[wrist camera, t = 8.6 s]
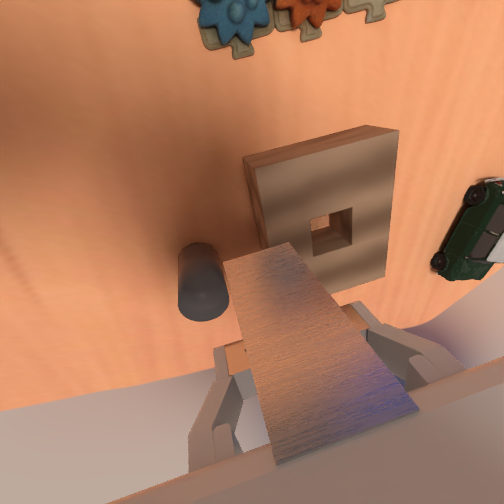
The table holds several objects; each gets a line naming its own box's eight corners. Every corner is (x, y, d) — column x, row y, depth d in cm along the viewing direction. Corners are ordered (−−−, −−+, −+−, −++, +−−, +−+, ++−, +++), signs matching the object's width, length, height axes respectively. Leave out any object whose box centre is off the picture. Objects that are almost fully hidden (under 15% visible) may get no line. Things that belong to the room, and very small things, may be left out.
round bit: (172, 249, 35) (170, 291, 28) (212, 237, 36) (222, 275, 28) (185, 281, 38) (187, 327, 31) (223, 270, 39) (234, 312, 31)
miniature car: (424, 270, 50) (462, 297, 43) (474, 173, 41) (532, 188, 34) (460, 269, 52) (502, 294, 45) (515, 176, 44) (576, 191, 37)
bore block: (242, 157, 32) (254, 169, 27) (365, 125, 33) (399, 130, 28) (269, 284, 42) (281, 310, 37) (361, 255, 44) (384, 276, 39)
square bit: (222, 262, 15) (276, 464, 7) (288, 242, 16) (419, 408, 7) (238, 312, 17) (294, 516, 9) (296, 293, 18) (405, 471, 9)
